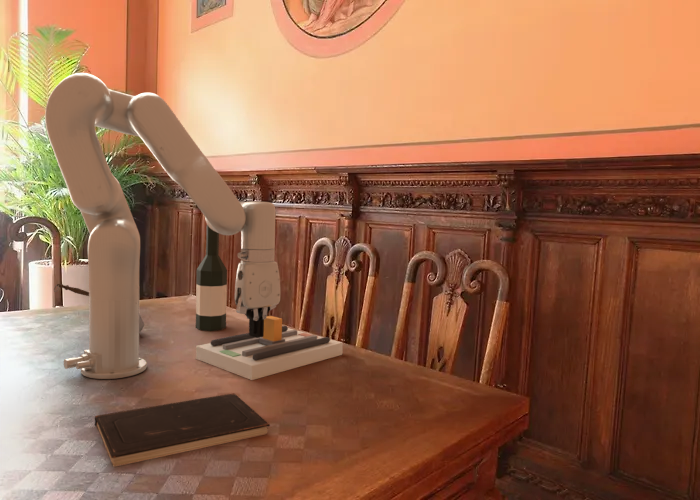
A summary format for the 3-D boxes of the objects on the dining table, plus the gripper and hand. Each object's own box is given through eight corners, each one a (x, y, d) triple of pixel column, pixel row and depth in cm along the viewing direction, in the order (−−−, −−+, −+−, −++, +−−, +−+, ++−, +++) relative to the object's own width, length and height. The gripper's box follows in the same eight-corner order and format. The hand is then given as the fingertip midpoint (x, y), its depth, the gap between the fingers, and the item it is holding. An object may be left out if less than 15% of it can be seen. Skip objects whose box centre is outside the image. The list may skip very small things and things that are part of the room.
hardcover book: (269, 438, 85) (269, 423, 84) (111, 472, 72) (111, 455, 72) (232, 404, 98) (233, 392, 98) (94, 428, 86) (94, 414, 85)
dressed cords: (255, 361, 112) (255, 355, 112) (209, 345, 123) (209, 339, 123) (331, 342, 130) (331, 337, 130) (285, 330, 141) (285, 325, 141)
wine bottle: (232, 327, 154) (234, 223, 151) (210, 332, 147) (212, 223, 144) (211, 323, 158) (213, 221, 156) (189, 327, 151) (191, 221, 149)
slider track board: (251, 380, 110) (252, 361, 109) (195, 358, 123) (196, 341, 122) (342, 354, 131) (343, 338, 131) (286, 338, 144) (287, 324, 143)
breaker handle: (272, 346, 123) (272, 320, 123) (258, 342, 126) (259, 317, 126) (285, 343, 126) (285, 318, 126) (271, 339, 130) (272, 315, 129)
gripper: (241, 260, 113) (240, 345, 114) (293, 256, 124) (291, 334, 126) (220, 256, 118) (219, 338, 119) (272, 253, 129) (270, 328, 131)
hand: (256, 336), depth 123 cm, fingers closed
